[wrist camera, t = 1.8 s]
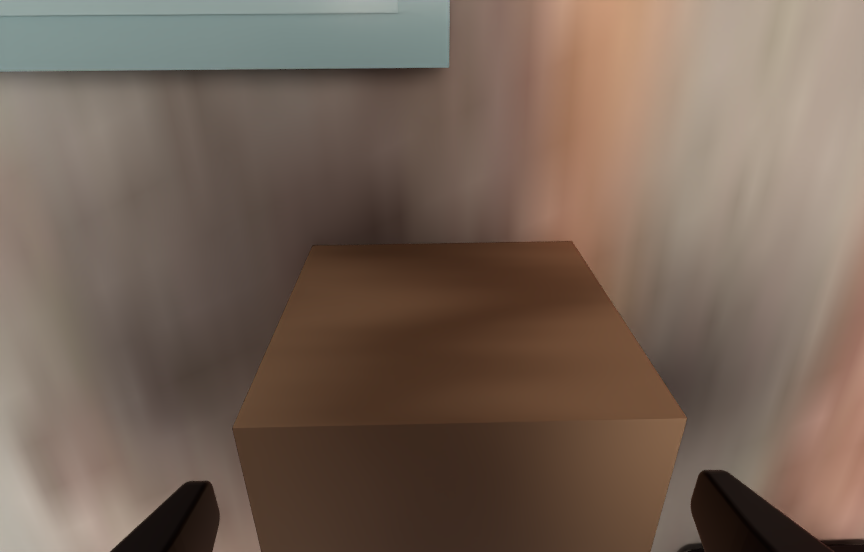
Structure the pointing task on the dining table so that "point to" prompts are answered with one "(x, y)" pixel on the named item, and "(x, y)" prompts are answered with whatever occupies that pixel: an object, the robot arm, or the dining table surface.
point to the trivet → (222, 34)
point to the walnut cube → (455, 407)
